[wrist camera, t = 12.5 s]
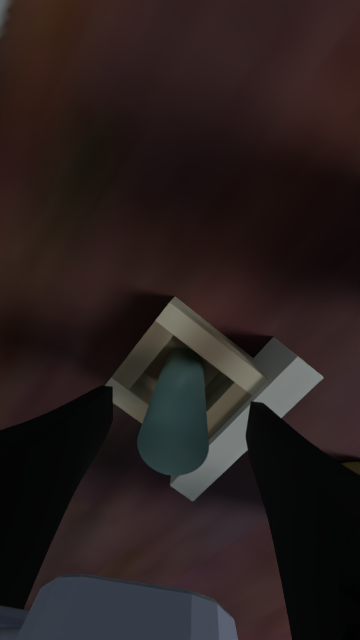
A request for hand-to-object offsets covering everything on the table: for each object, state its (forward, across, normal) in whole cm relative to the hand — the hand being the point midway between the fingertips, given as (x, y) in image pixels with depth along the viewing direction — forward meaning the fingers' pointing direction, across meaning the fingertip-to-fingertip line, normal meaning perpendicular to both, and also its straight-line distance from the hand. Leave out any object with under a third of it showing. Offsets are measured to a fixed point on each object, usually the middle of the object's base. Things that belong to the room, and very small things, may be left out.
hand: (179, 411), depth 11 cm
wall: (+6, -4, +3) cm, 8 cm away
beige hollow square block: (+6, 0, 0) cm, 6 cm away
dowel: (+6, 0, 0) cm, 6 cm away
